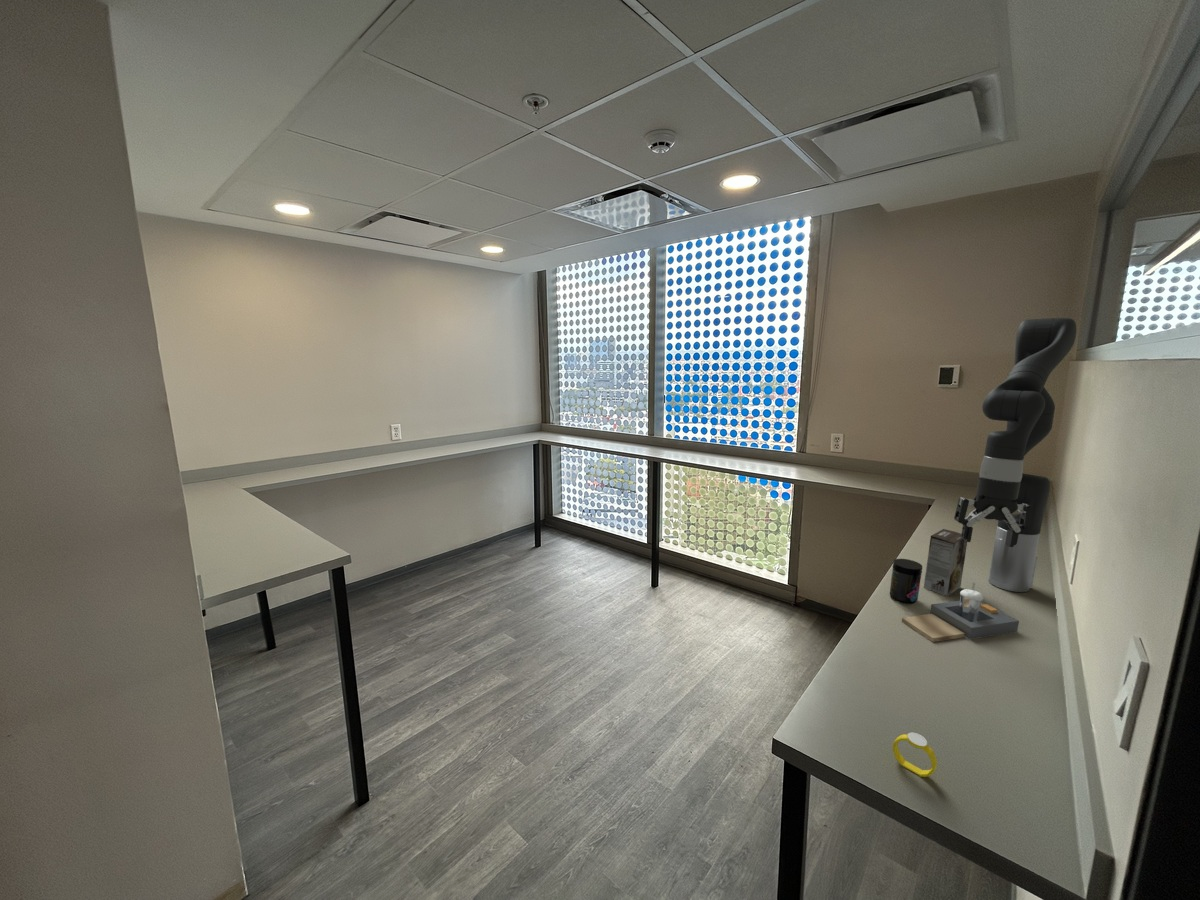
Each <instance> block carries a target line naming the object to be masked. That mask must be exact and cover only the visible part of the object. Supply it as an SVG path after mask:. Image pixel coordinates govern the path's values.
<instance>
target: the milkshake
mask: <svg viewBox="0 0 1200 900" xmlns="http://www.w3.org/2000/svg"><path fill="white" fill-rule="evenodd" d="M975 587H976V583H974V582H972V585H971V589H969V588H968V589H967V588H965V589H962V590H961V591H960V592H959V601H960V614H959V616H961V617H962V618H964V619H966V620H968V621H969V622H976V621H977V617H978V613H979V610H980V607H981V604H982V602H984V595H983V594H982V593H981V592H979V591H977V590H975Z"/></svg>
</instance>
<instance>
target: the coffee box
mask: <svg viewBox="0 0 1200 900" xmlns="http://www.w3.org/2000/svg"><path fill="white" fill-rule="evenodd" d="M967 547H968V542H966V541H964V539H963V538H962V536H961V533H960V532H957V531H953V530H951V529H946V528H942V529H941V530H939V531H937V532H935V533H934V534H932V535H930V539H929V546H928V555H927V561H926V569H925V575H924V582H923V588H924V589H927V590H930V591H932V592H935V593H937V594H939V595H940V594H941V595H943V596H947V597H949V596H950V595H952V594H953V593H954V592H956V591H957V590H958V589H960V588H961V587H962V580H963V574H964V573H963V572H964V567H965V566H964V565H965V559H966V554H967V553H966V551H967Z"/></svg>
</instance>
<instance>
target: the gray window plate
mask: <svg viewBox="0 0 1200 900" xmlns="http://www.w3.org/2000/svg"><path fill="white" fill-rule="evenodd" d="M929 614H933V615H935V616H937V617H938V618H940V619H942V620H943V621H945V622H947V623H948V624H950V625H952V626H953V627H955V628H957V629H958V630H960V631H962V632H963V633H965V635H964V638H967V639H969V640H975V639H980V638H986V637H992V636H999V635H1006V634H1011V633H1013V634H1014V633H1018V629H1019V624H1020V623H1019V622H1020V620H1018V619H1016V618H1015V617H1013V616H1011V615H1009V614H1008V613H1005V612H1003V611H1001V610H999V609H997V608H995V607H994V606H992V605H990V604H988V603H985V602H984V601H982V604H981V607H980V610H979V613H978V617H977V621H976V622H969V621H968V620H966V619H964V618H962V617H961V616H959V614H960V600H954V601H946V602H938V603H931V604H930V610H929Z"/></svg>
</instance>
